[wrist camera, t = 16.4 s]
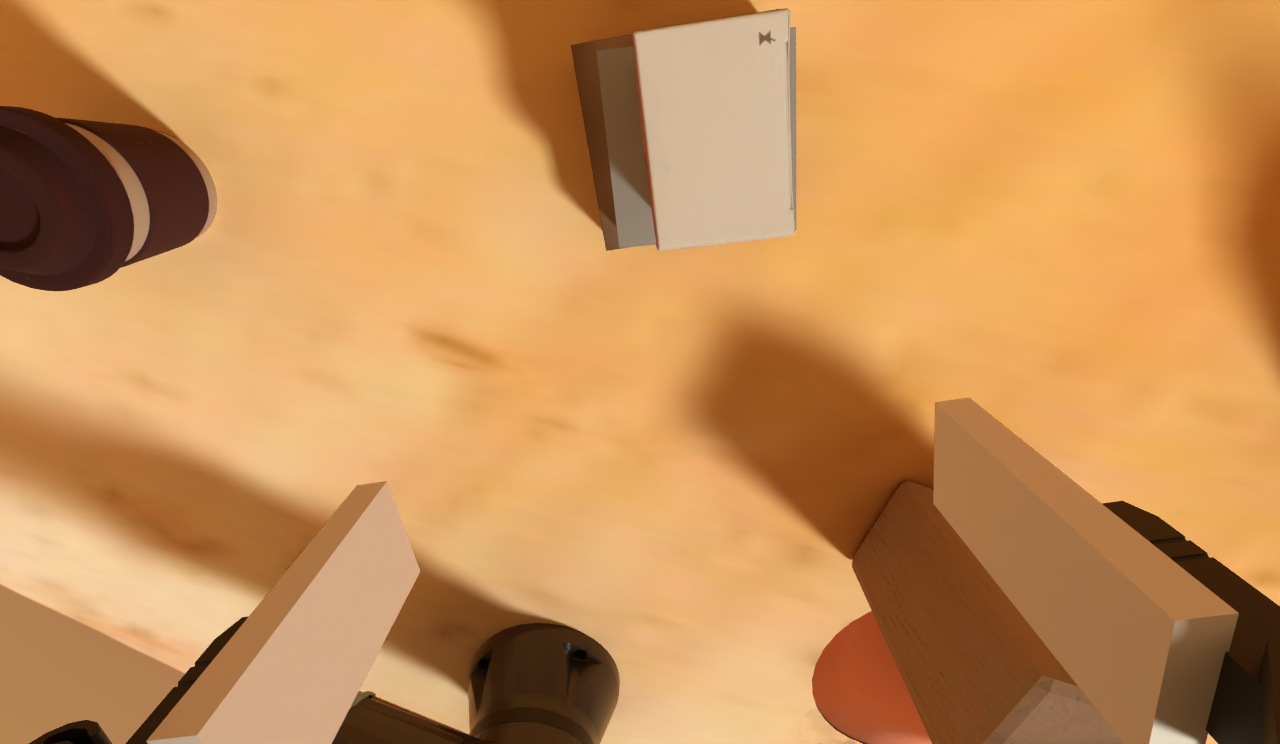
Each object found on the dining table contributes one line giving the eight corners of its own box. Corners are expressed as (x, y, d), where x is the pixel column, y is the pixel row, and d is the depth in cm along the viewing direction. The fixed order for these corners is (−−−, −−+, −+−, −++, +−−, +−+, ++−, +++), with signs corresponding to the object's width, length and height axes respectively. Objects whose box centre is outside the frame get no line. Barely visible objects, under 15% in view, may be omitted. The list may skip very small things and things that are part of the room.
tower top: (623, 233, 39) (619, 248, 34) (603, 60, 35) (596, 50, 30) (778, 217, 38) (796, 230, 33) (776, 39, 34) (795, 27, 30)
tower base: (611, 237, 44) (606, 250, 39) (580, 54, 39) (570, 45, 34) (775, 212, 43) (790, 223, 38) (763, 22, 38) (779, 8, 34)
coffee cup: (260, 261, 47) (100, 315, 34) (131, 234, 47) (-87, 278, 33) (257, 129, 44) (76, 129, 30) (117, 99, 43) (-135, 83, 29)
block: (941, 592, 55) (1086, 828, 37) (844, 561, 54) (944, 788, 36) (1002, 508, 52) (1198, 723, 33) (900, 472, 50) (1044, 675, 32)
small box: (636, 56, 30) (628, 24, 21) (746, 40, 30) (792, 0, 20) (653, 216, 33) (654, 254, 24) (754, 204, 33) (797, 238, 23)
